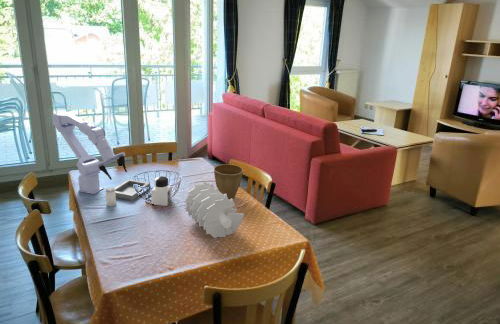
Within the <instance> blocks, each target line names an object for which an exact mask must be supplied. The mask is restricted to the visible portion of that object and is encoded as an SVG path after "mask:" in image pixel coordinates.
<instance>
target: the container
mask: <svg viewBox="0 0 500 324" xmlns="http://www.w3.org/2000/svg"><path fill="white" fill-rule="evenodd" d="M153 183H154V187H153V188H152V189H150V190H151V191H150V195H151V196H150V197H151V205H152V204H154V205H153V206H163V207H168V205H169V203H170V202H171V200H172V186H171V185H169V178H168V177H166V176H163V175H162V176H157V177H155V178H154V181H153Z"/></svg>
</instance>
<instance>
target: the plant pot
mask: <svg viewBox="0 0 500 324" xmlns="http://www.w3.org/2000/svg"><path fill="white" fill-rule="evenodd" d="M213 173H214V181H215V186H216V188H218V190H219V191H220V192H221V193H222V194H227V197H228V199H229V200H230V199H233V200H234V199H235V197H236V195H237V192H238V191H239V187H240V184H241V182H242V177H243V174H244V168H243V167H241V166H239V165H237V164H231V163H230V164H227V163H224V164H219V165H218V164H217V165H216V166H214V167H213Z"/></svg>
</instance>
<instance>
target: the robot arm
mask: <svg viewBox="0 0 500 324" xmlns="http://www.w3.org/2000/svg"><path fill="white" fill-rule="evenodd" d="M51 118H52V119H51V120H52V124H53V126H54V128H55V129H56V131H58V132H59V133H60V134H61V136H62V138H63V139H64V141H65V142H66V143H67V144H68V146H69V148H70V149H71V151H72V152H73V153H74V155H75V157H76V158H77V159H78V161H77V162H76V167H77V169H78V172H79V175H78V187H79V188H78V192H81V193H87V194H92V195H94V194H97V193H99V191H102V190H103V189H104V187H103V186H100V174H101V172H102V173H104V175H106V176H108V179H110V180H112V179H113V178H112V177H111V175H110V174H109V171H108V169H107V168H106V166H107V165H109V164H111V163H113V162H115V161H117V160H119V161H120V164H121V165H122V167H123V170H124V172H125V173H128V170H127V168H126V163H125V161H126V160H125V159H126V158H125V157H126V153H125V151H122V152H119V153H117V154H115V152H114V151H113V149H112V148H111V145H110V144H109V142H108V140H107V138H106V130H105V129H104V127H102V126H95V125H94V124H92V123H90V122H89V120H86V121H85V120H84V121H83V120H81V119H80V118H79V117H77V115H76V113H75V112H73V111H72V110H69V111H66V112H58V113H53V114H52V117H51ZM75 127H77V129H78V130H79V132H81V133H83V134H84V135H85V136H87V138H88V140H89V141H90V142H91V143H92V145H95V147H96V149H97V151H98V153H99V155H100V156H101V159H102V161H100V160H99V159H98V158H97V157H96V156H94V155H91V154H89V153H88V151H86V148H85V147H84V146H83V144H82V143H81V142H80V140H79V138H78V137H77V136H76V134H75V133H74V129H75Z"/></svg>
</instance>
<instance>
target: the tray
mask: <svg viewBox="0 0 500 324" xmlns="http://www.w3.org/2000/svg"><path fill="white" fill-rule="evenodd" d="M150 183H151V182H146V181H140V180H134V179H129V178H127V179H126V180H125V181H123V182H122V183H119V185H117V186H115V187H114V188H115V194H116V199H119V200H123V201H128V202H129V201H130V202H134V201H135V200H136V199H138V198H139V197H140V196H138V194H137V192H136V191H135V189H134V187H133V184H138V185H140V186H142V187H150V188H151V184H150ZM141 191H142V189H141V188H139V192H141Z"/></svg>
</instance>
